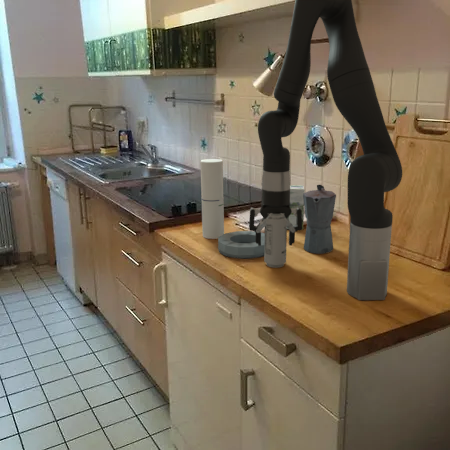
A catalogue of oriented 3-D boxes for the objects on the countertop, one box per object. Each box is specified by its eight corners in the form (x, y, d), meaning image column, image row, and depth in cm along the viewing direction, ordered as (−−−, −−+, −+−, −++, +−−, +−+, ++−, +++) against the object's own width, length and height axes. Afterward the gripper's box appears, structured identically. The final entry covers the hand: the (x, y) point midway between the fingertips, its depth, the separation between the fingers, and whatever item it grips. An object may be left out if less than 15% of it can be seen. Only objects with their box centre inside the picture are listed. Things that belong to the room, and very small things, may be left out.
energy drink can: (287, 268, 136) (288, 214, 132) (265, 268, 136) (265, 215, 132) (284, 260, 142) (285, 209, 138) (263, 261, 142) (263, 209, 138)
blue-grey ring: (273, 258, 144) (273, 246, 143) (217, 259, 144) (217, 247, 143) (269, 241, 159) (269, 230, 158) (218, 241, 159) (218, 231, 158)
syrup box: (302, 225, 176) (303, 184, 172) (303, 230, 170) (304, 188, 166) (286, 225, 177) (287, 184, 173) (286, 229, 171) (287, 188, 167)
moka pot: (299, 256, 145) (301, 188, 140) (304, 240, 160) (305, 178, 154) (332, 258, 143) (335, 189, 137) (334, 241, 157) (337, 179, 152)
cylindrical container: (199, 234, 168) (196, 160, 161) (218, 231, 171) (217, 158, 164) (207, 240, 162) (205, 163, 155) (227, 236, 164) (226, 161, 157)
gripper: (249, 190, 130) (249, 249, 134) (304, 189, 129) (302, 249, 134) (248, 184, 137) (248, 240, 141) (300, 183, 137) (299, 240, 141)
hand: (275, 244), depth 138 cm, fingers open, 8 cm apart
